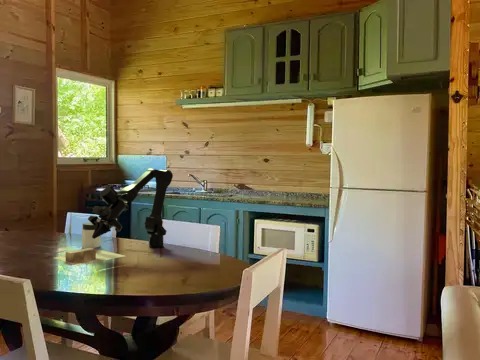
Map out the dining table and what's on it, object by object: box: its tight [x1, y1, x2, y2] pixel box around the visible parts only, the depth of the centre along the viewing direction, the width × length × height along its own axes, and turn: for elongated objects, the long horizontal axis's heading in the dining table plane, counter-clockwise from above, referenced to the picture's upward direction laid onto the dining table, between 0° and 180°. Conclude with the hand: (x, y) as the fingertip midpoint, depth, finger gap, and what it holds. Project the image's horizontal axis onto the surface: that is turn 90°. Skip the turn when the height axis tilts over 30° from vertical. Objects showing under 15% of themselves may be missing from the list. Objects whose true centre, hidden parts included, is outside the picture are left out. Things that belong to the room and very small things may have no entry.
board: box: [53, 249, 125, 266], centre depth 199 cm, size 24×20×1 cm
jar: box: [81, 221, 102, 249], centre depth 221 cm, size 9×8×12 cm
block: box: [65, 248, 97, 264], centre depth 193 cm, size 4×4×12 cm
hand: (93, 238), depth 197 cm, fingers closed
